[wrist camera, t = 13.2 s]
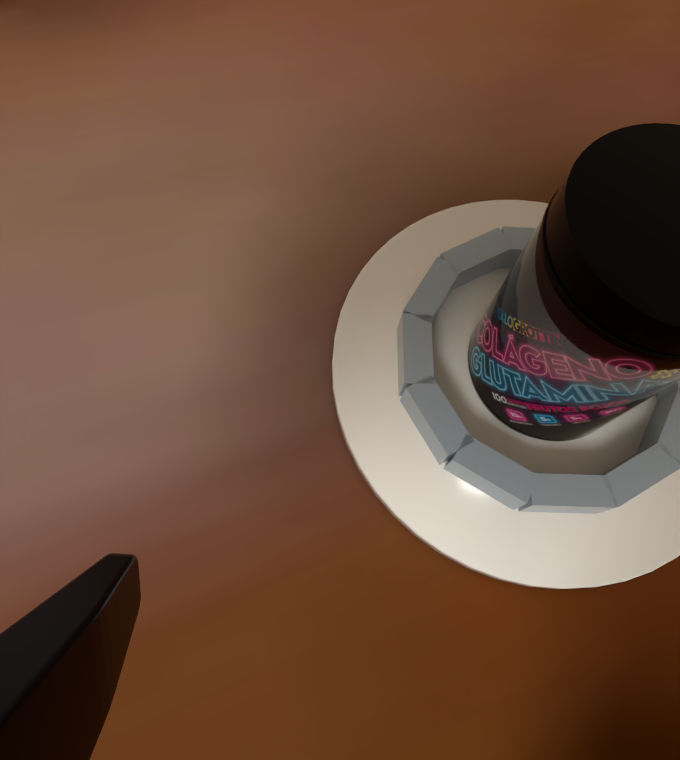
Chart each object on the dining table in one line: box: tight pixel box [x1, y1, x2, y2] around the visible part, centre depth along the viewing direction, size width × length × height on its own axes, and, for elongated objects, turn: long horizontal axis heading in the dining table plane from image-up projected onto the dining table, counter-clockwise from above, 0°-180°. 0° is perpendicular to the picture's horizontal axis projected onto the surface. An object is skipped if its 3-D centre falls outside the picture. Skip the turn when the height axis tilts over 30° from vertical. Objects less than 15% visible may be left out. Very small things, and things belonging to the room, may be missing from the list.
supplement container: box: [467, 123, 680, 442], centre depth 20 cm, size 7×7×10 cm
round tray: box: [332, 200, 680, 589], centre depth 24 cm, size 18×18×2 cm
